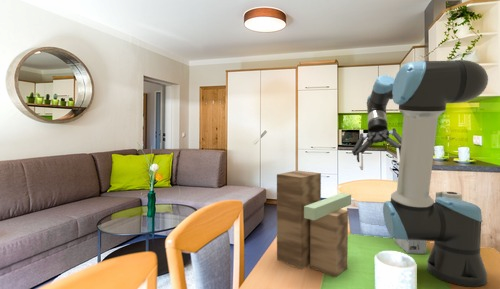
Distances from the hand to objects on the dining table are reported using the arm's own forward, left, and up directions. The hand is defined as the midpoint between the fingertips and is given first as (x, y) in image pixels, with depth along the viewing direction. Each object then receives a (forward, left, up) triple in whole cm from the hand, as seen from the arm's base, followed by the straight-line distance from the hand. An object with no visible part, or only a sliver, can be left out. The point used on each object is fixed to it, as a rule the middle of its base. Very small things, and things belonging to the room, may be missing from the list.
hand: (379, 166), depth 111 cm
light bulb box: (-8, -7, -31) cm, 33 cm away
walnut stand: (+6, +32, -31) cm, 45 cm away
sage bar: (0, +30, -12) cm, 32 cm away
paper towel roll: (-17, -18, -31) cm, 40 cm away
